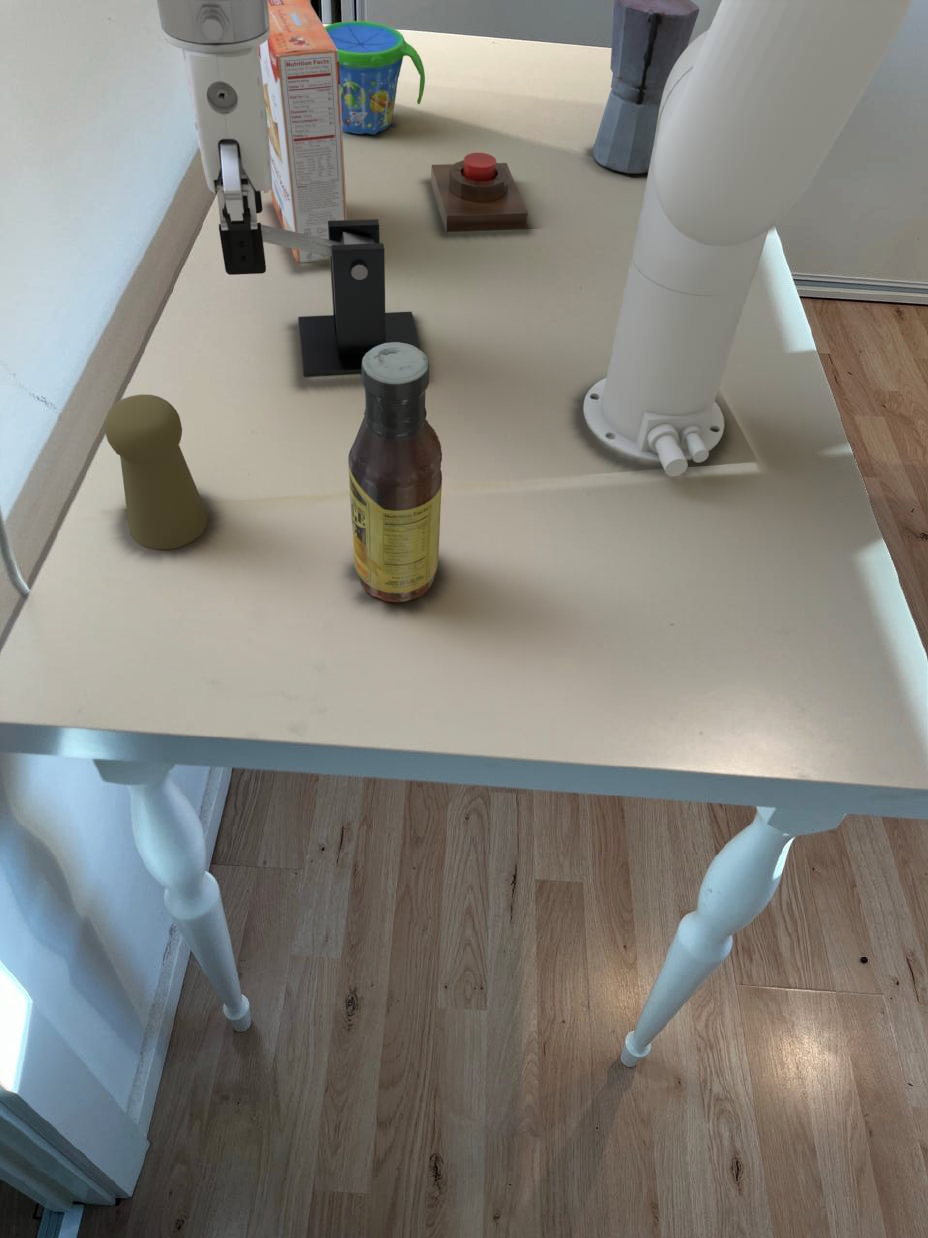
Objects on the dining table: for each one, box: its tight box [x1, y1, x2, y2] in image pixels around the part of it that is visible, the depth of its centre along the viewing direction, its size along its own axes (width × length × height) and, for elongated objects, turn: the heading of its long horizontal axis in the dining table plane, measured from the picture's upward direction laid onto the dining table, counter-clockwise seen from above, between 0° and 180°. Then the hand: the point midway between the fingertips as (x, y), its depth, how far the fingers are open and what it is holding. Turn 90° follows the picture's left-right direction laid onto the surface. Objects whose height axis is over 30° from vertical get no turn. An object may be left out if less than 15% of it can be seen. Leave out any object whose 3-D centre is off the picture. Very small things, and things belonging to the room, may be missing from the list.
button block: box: [430, 159, 529, 233], centre depth 107 cm, size 12×9×4 cm
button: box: [463, 152, 497, 181], centre depth 105 cm, size 4×4×2 cm
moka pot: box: [592, 0, 700, 175], centre depth 110 cm, size 10×15×20 cm, turn 174°
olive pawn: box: [104, 393, 209, 550], centre depth 70 cm, size 6×6×11 cm
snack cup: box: [324, 20, 426, 136], centre depth 117 cm, size 16×10×10 cm
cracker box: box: [258, 0, 348, 264], centre depth 94 cm, size 14×6×21 cm, turn 18°
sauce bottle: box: [347, 342, 443, 603], centre depth 64 cm, size 6×6×20 cm
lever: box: [261, 223, 375, 257], centre depth 80 cm, size 12×5×2 cm, turn 99°
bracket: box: [297, 218, 422, 378], centre depth 85 cm, size 11×9×12 cm
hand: (245, 240), depth 79 cm, fingers open, 9 cm apart
